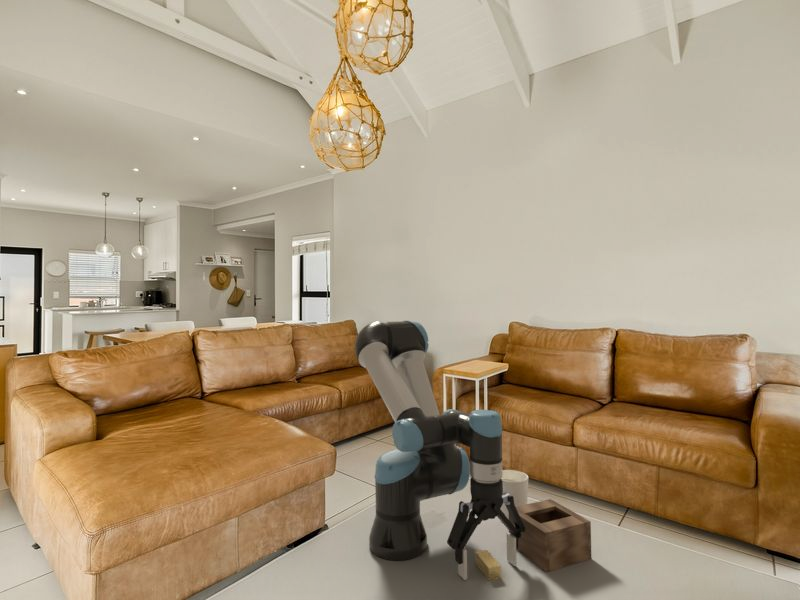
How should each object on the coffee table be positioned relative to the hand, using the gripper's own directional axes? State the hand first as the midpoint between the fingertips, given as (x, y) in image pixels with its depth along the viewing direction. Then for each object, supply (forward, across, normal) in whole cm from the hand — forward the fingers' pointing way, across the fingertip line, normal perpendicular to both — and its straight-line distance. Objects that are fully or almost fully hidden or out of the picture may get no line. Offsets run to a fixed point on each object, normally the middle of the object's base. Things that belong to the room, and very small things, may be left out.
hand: (487, 569), depth 102 cm
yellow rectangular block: (0, 0, 0) cm, 0 cm away
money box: (0, +19, +1) cm, 19 cm away
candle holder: (0, +22, +20) cm, 30 cm away
